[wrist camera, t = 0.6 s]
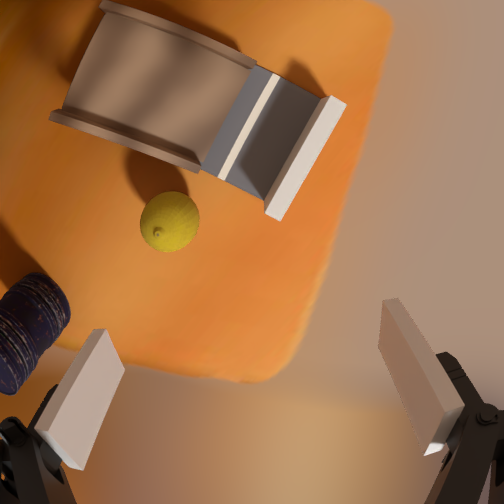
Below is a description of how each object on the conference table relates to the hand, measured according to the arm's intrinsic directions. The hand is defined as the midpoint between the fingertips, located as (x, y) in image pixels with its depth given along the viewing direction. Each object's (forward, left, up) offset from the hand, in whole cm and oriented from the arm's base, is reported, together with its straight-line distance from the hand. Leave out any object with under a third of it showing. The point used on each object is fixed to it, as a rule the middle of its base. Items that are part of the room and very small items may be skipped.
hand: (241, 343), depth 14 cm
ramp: (-14, +8, -21) cm, 26 cm away
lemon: (-7, -3, -21) cm, 23 cm away
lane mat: (-3, +8, -21) cm, 23 cm away
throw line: (-5, +8, -21) cm, 23 cm away
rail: (+1, +8, -21) cm, 22 cm away
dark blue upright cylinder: (-21, -25, -21) cm, 39 cm away
